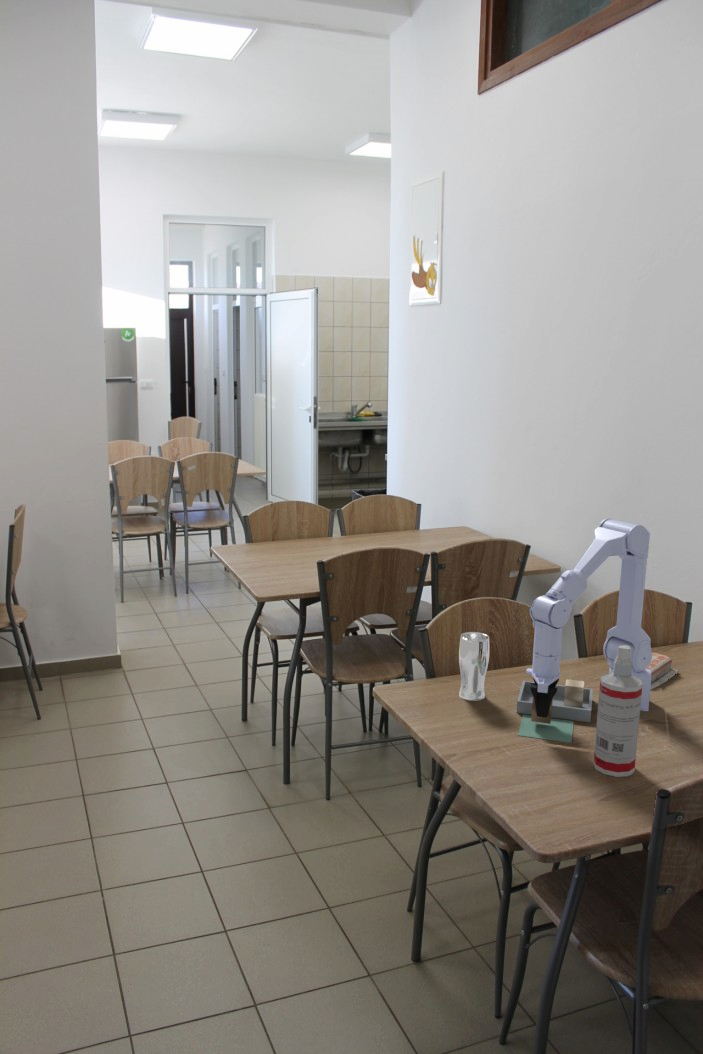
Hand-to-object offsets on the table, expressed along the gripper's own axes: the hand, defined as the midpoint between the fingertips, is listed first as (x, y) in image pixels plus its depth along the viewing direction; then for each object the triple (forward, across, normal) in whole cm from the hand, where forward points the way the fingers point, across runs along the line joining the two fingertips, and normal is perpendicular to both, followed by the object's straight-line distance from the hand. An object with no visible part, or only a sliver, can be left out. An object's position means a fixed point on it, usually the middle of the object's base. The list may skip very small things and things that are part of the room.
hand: (542, 712), depth 191 cm
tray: (+4, -12, +2) cm, 13 cm away
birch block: (+3, -12, +6) cm, 14 cm away
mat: (+4, +1, +1) cm, 4 cm away
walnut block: (+2, 0, 0) cm, 2 cm away
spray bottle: (+4, +14, +15) cm, 21 cm away
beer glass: (+4, -12, -17) cm, 21 cm away
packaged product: (+4, -39, +23) cm, 46 cm away
